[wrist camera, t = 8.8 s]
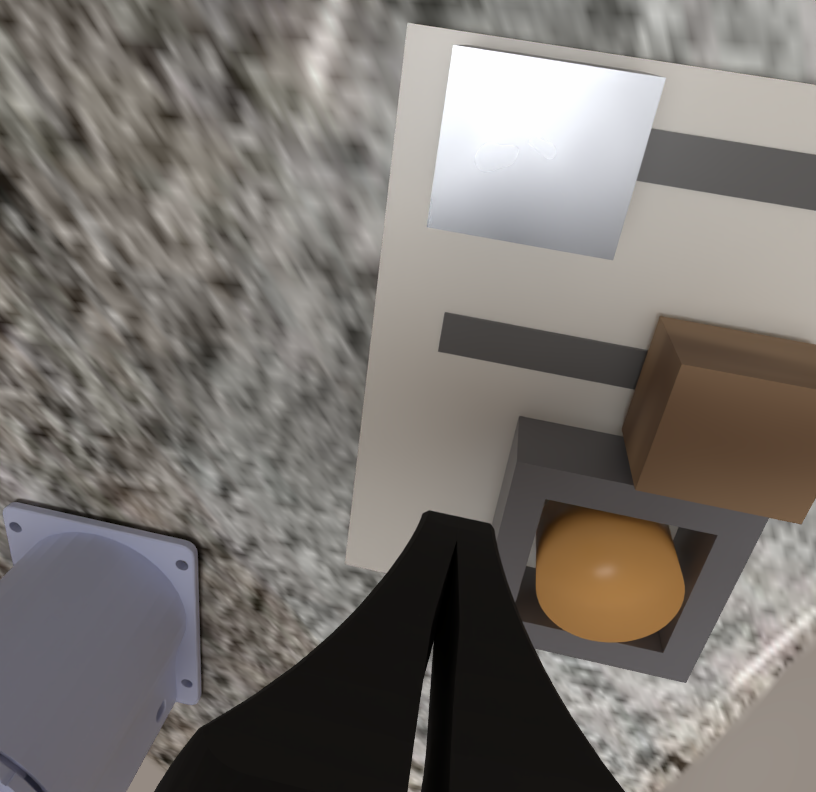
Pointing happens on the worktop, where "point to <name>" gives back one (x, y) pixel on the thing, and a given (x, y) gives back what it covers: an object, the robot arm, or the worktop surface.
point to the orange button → (606, 573)
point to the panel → (577, 334)
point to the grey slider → (540, 149)
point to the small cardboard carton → (725, 420)
